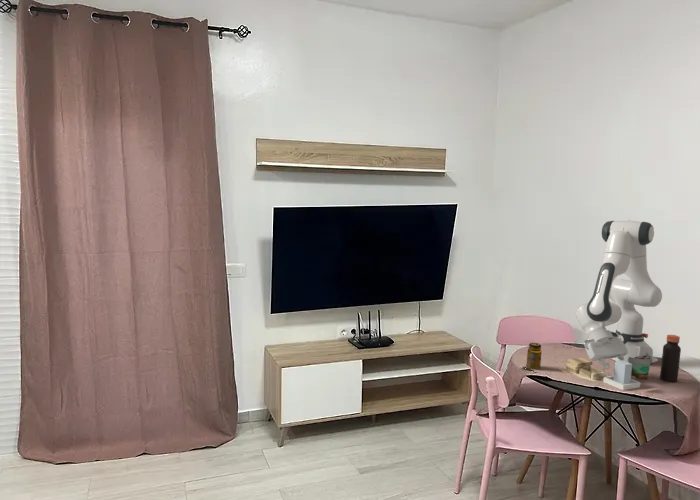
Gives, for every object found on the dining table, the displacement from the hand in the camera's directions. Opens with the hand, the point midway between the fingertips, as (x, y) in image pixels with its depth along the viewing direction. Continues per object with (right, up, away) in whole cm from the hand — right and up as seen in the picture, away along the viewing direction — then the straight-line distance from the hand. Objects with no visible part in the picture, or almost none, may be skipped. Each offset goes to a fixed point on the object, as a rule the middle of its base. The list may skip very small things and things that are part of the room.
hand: (615, 366), depth 247 cm
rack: (-9, -6, +10) cm, 15 cm away
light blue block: (+1, -7, -3) cm, 8 cm away
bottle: (+27, -8, +8) cm, 29 cm away
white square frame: (+1, -8, -3) cm, 8 cm away
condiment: (-31, -5, +15) cm, 35 cm away
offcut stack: (-11, -4, +14) cm, 18 cm away
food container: (+15, -7, +8) cm, 19 cm away
